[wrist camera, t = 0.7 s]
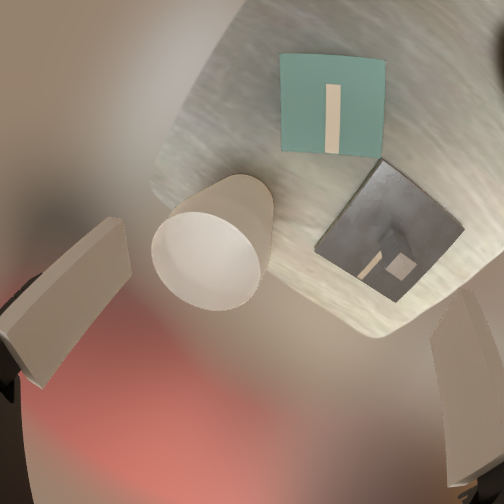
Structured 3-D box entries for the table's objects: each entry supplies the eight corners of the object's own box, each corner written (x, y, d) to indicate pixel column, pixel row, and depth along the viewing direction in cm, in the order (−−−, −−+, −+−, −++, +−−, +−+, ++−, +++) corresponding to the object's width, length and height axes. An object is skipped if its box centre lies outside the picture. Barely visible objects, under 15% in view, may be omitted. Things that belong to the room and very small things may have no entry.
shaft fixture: (381, 158, 27) (393, 176, 22) (461, 225, 28) (482, 253, 23) (314, 246, 34) (311, 279, 29) (394, 297, 35) (401, 332, 30)
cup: (187, 202, 34) (131, 259, 24) (238, 144, 30) (190, 183, 20) (246, 255, 36) (213, 328, 26) (303, 206, 32) (289, 273, 22)
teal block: (290, 60, 24) (278, 52, 18) (371, 65, 23) (386, 59, 16) (291, 135, 28) (280, 152, 22) (368, 141, 26) (382, 160, 20)
